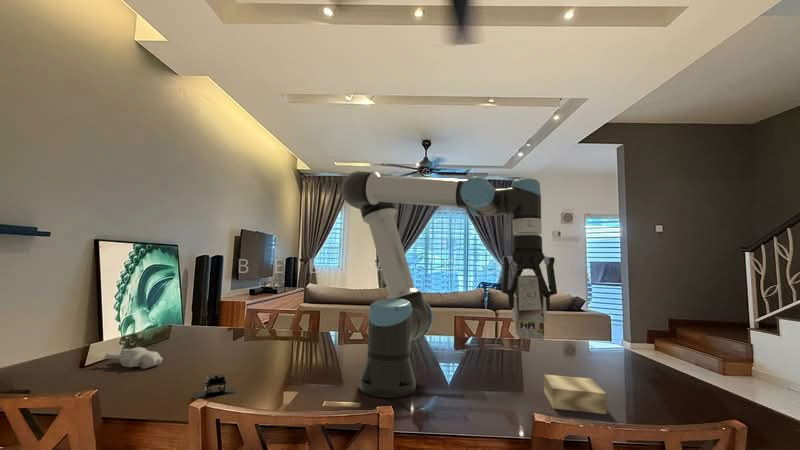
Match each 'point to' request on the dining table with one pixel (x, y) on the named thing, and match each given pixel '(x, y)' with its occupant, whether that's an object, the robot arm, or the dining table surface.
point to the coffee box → (530, 307)
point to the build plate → (220, 391)
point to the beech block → (575, 394)
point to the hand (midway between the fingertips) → (529, 320)
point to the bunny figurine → (136, 358)
